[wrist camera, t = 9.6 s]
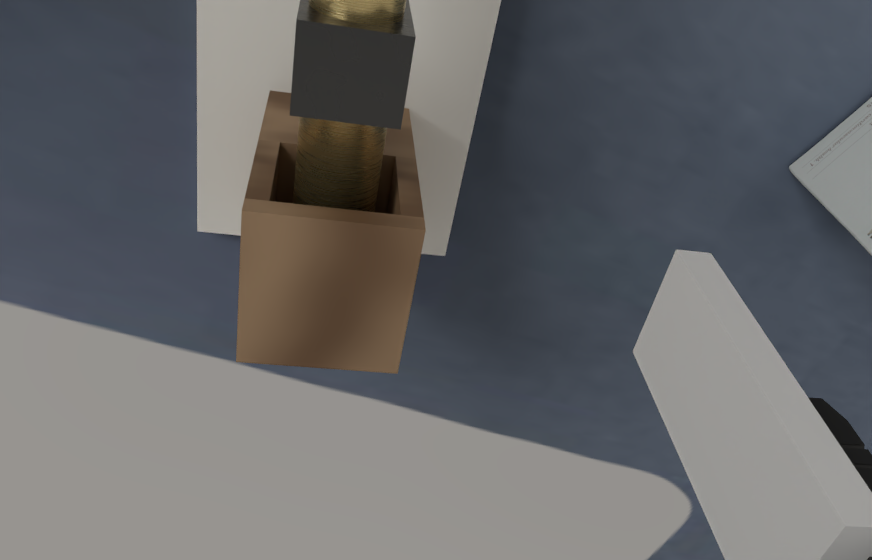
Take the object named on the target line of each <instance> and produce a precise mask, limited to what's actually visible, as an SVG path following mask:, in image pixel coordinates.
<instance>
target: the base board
mask: <svg viewBox="0 0 872 560" xmlns="http://www.w3.org/2000/svg"><path fill="white" fill-rule="evenodd" d="M299 4H300V0H197V231H200V232H210V233H220V234H230V235H239V236H241V214H242V207H243V203H244V198H245V194H246V190H247V186H248V181H249V177H250V173H251V169H252V164H253V160H254V156H255V152H256V147H257V143H258V139H259V134H260V130H261V126H262V122H263V117H264V113H265V109H266V105H267V100H268V96H269V92H270V90H271V91H279V92H287V93H291V88H292V74H293V60H294V46H295V32H296V19H297V14H298V9H299ZM409 4H410V10H411V15H412V20H413V25H414V31H415V36H416V39H415V45H414V51H413V57H412V63H411V69H410V76H409V82H408V88H407V94H406V100H405V107H404V108H407V109H409V112H410V119H411V127H412V134H413V141H414V148H415V156H416V163H417V170H418V177H419V184H420V192H421V199H422V206H423V213H424V221H425V228H426V232H425V237H424V242H423V247H422V252H421V254H429V255H439V256H445V254H446V249H447V245H448V240H449V236H450V231H451V227H452V222H453V218H454V213H455V208H456V204H457V199H458V195H459V190H460V186H461V181H462V177H463V172H464V168H465V163H466V158H467V154H468V149H469V145H470V140H471V136H472V131H473V127H474V122H475V117H476V113H477V108H478V104H479V99H480V95H481V90H482V86H483V81H484V77H485V72H486V67H487V63H488V58H489V54H490V49H491V45H492V40H493V36H494V31H495V27H496V22H497V17H498V13H499V8H500V4H501V0H409Z"/></svg>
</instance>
